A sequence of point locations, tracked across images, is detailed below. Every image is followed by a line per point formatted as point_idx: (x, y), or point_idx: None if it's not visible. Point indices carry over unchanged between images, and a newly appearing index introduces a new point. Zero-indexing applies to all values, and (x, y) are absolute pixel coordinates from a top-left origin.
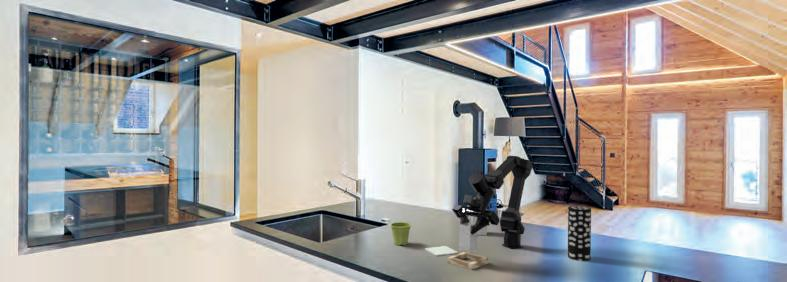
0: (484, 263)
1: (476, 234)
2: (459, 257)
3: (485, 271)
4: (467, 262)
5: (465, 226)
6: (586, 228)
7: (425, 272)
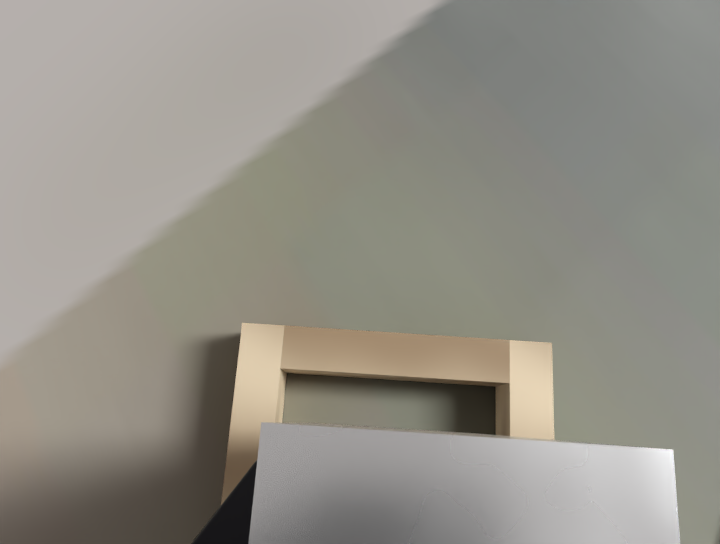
0: None
1: None
2: None
3: (131, 385)
4: (304, 344)
5: (433, 435)
6: None
7: (498, 34)
